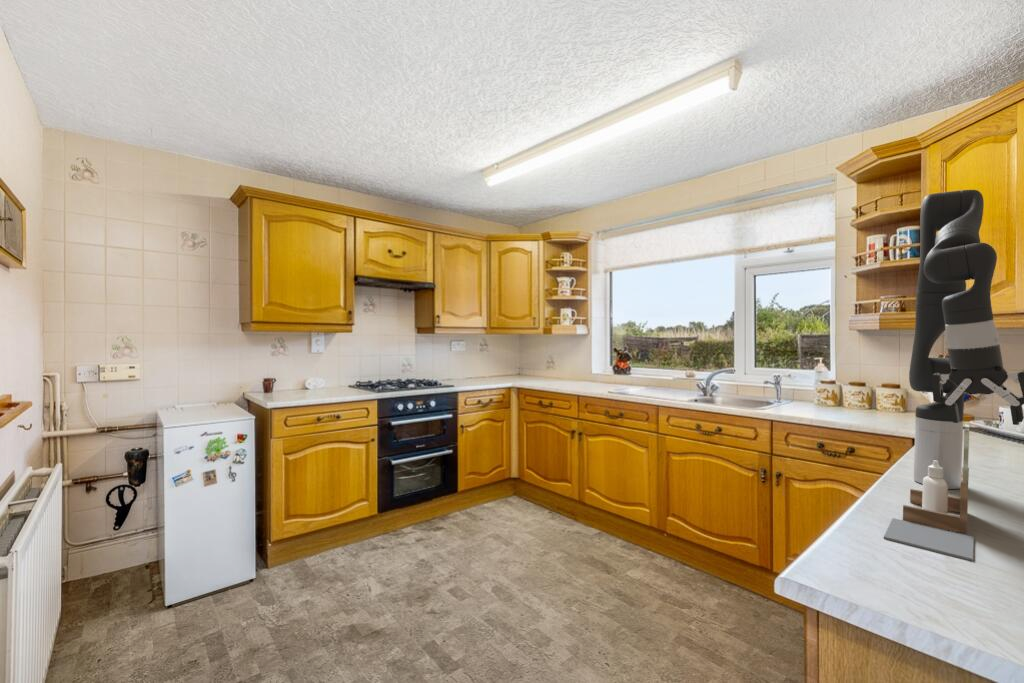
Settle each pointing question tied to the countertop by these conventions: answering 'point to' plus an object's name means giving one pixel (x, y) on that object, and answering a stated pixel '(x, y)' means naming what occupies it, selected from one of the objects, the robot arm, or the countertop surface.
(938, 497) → the eye dropper bottle
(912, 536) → the slate mat
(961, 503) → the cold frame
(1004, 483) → the countertop surface
